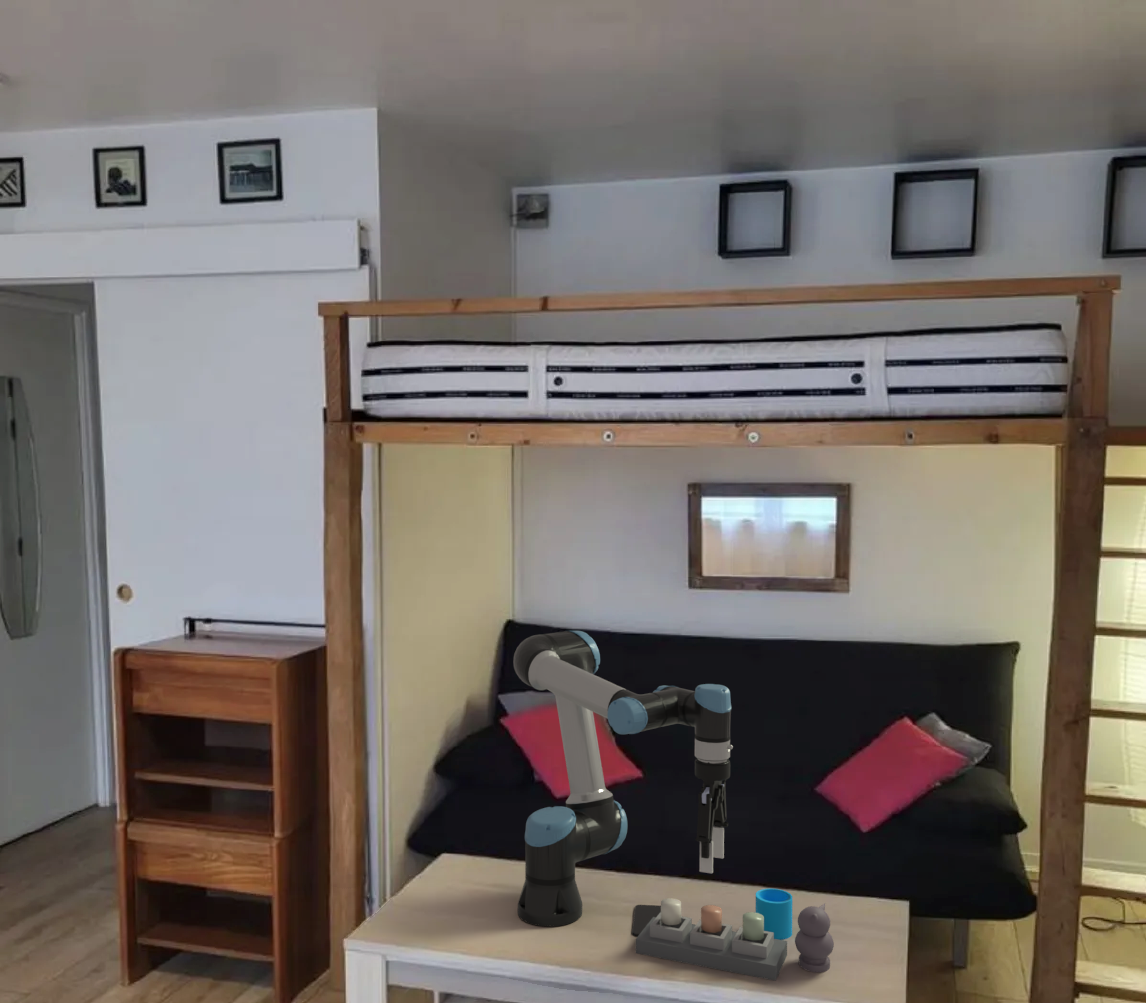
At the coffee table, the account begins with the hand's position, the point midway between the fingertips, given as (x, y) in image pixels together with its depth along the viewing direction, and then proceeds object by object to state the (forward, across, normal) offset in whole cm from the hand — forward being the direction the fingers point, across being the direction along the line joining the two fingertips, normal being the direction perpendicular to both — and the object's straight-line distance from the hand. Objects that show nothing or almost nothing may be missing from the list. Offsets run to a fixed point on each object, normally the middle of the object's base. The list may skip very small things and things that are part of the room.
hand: (711, 864), depth 214 cm
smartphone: (+20, +10, +17) cm, 28 cm away
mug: (+20, +18, -10) cm, 28 cm away
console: (+19, 0, 0) cm, 19 cm away
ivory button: (+14, 0, +9) cm, 16 cm away
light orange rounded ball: (+14, 0, 0) cm, 14 cm away
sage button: (+14, 0, -9) cm, 16 cm away
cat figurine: (+20, +4, -21) cm, 29 cm away
